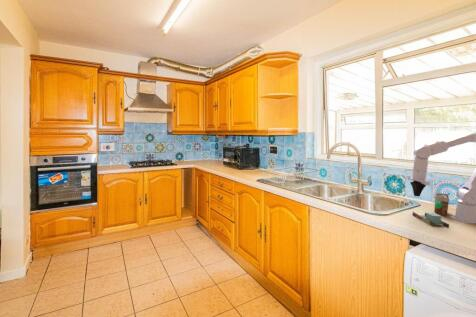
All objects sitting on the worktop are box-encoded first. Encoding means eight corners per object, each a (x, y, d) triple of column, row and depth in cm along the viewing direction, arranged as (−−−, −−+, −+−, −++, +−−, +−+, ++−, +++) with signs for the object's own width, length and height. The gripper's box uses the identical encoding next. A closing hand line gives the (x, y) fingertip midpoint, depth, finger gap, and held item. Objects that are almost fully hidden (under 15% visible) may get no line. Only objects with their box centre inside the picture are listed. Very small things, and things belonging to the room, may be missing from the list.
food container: (431, 209, 137) (434, 191, 136) (446, 211, 133) (448, 193, 132) (431, 214, 128) (433, 196, 127) (446, 217, 124) (449, 198, 123)
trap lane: (425, 216, 125) (425, 212, 125) (448, 228, 110) (449, 224, 110) (412, 215, 126) (412, 212, 125) (433, 227, 110) (434, 223, 110)
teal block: (434, 221, 117) (435, 213, 117) (440, 224, 113) (441, 216, 113) (425, 220, 117) (426, 212, 117) (431, 224, 113) (432, 215, 113)
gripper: (403, 167, 134) (400, 192, 135) (420, 172, 119) (417, 199, 121) (417, 168, 133) (414, 192, 135) (436, 172, 119) (432, 200, 120)
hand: (416, 196), depth 128 cm, fingers closed
